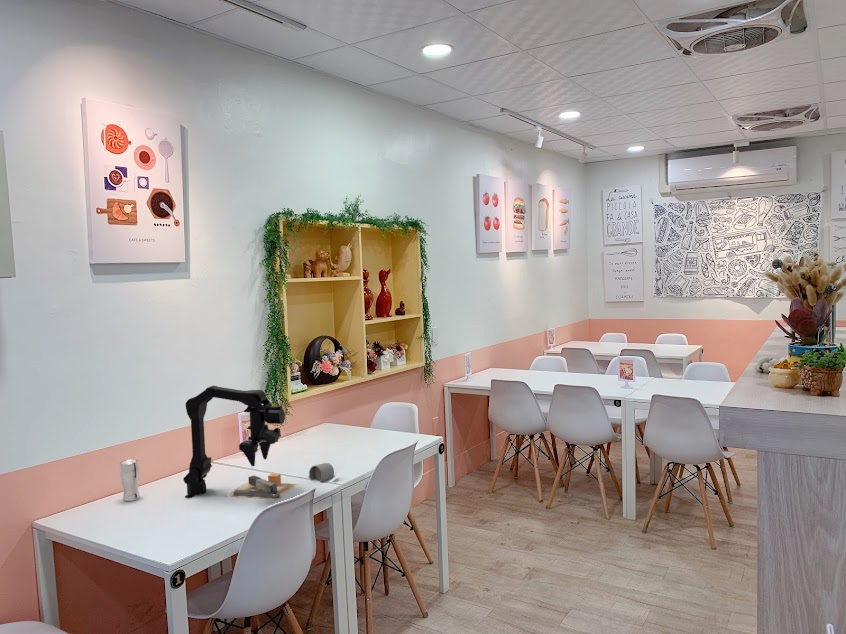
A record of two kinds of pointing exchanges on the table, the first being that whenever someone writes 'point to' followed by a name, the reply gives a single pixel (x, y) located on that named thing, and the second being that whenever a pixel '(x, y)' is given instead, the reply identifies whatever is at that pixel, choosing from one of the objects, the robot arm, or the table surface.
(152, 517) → the table surface
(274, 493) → the tongs lower
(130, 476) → the beer glass
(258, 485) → the tongs upper
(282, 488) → the serving board
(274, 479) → the tan rectangular block
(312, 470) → the ceramic mug
